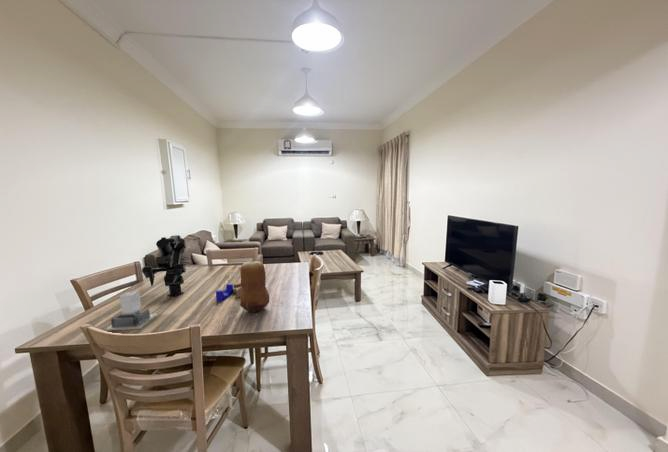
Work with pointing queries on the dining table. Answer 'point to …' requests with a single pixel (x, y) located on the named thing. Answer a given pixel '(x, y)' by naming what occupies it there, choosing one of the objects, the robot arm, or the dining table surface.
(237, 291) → the wooden block set
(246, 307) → the butternut squash
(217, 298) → the cable clip
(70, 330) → the dining table surface
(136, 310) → the white upright block
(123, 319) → the keeper bracket
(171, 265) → the robot arm
